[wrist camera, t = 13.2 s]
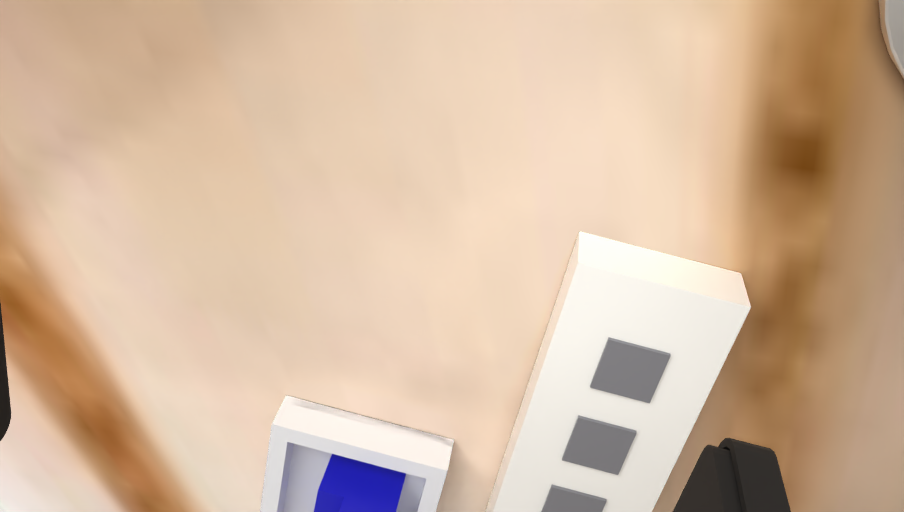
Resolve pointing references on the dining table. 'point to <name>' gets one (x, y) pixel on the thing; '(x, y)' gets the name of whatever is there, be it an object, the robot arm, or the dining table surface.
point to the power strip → (618, 379)
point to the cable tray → (348, 455)
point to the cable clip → (358, 487)
